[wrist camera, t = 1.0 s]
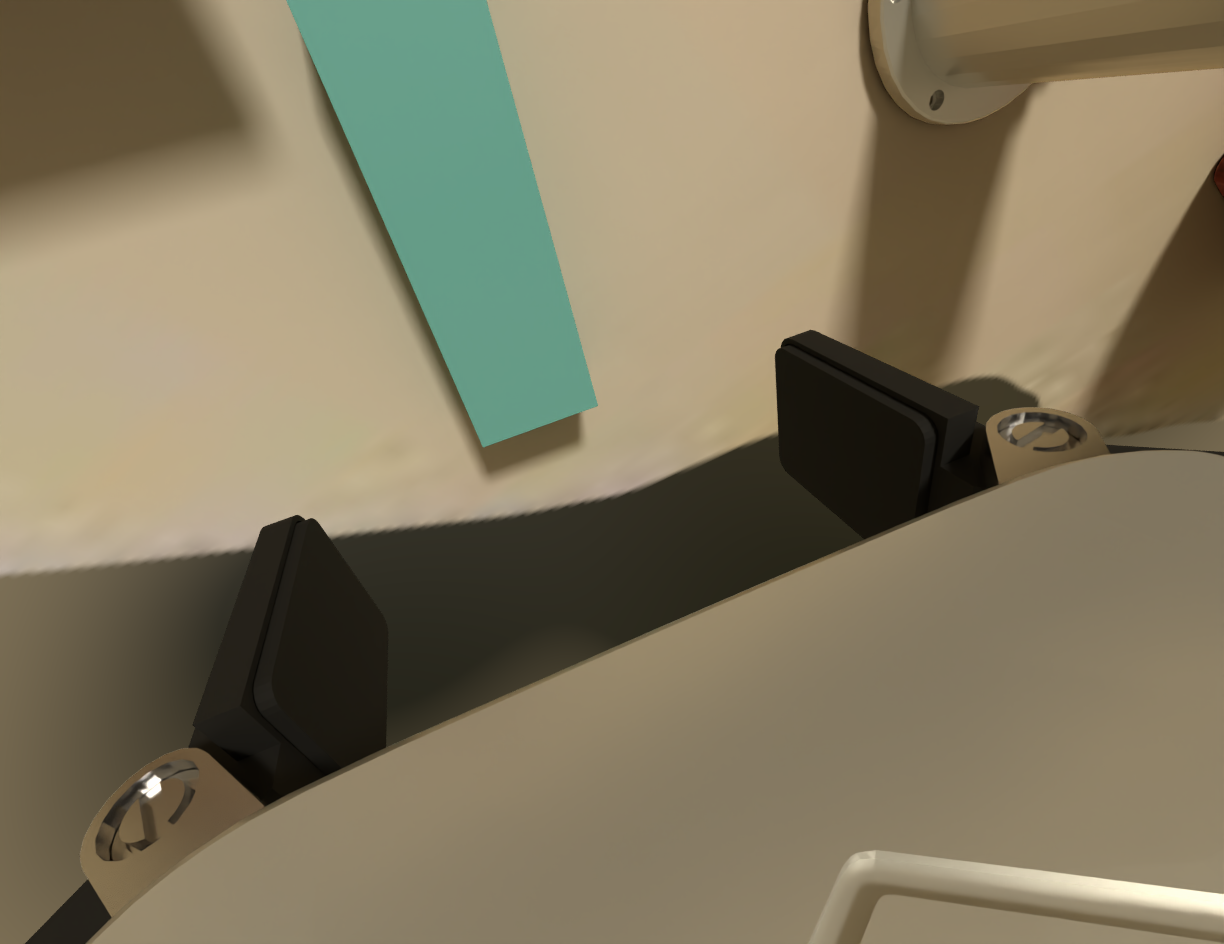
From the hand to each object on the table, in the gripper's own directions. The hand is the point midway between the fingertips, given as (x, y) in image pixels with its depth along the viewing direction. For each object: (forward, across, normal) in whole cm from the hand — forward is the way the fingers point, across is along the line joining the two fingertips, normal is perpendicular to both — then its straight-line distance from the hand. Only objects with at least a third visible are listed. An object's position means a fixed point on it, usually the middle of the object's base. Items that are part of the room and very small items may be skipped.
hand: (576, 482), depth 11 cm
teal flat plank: (+19, -1, -2) cm, 19 cm away
